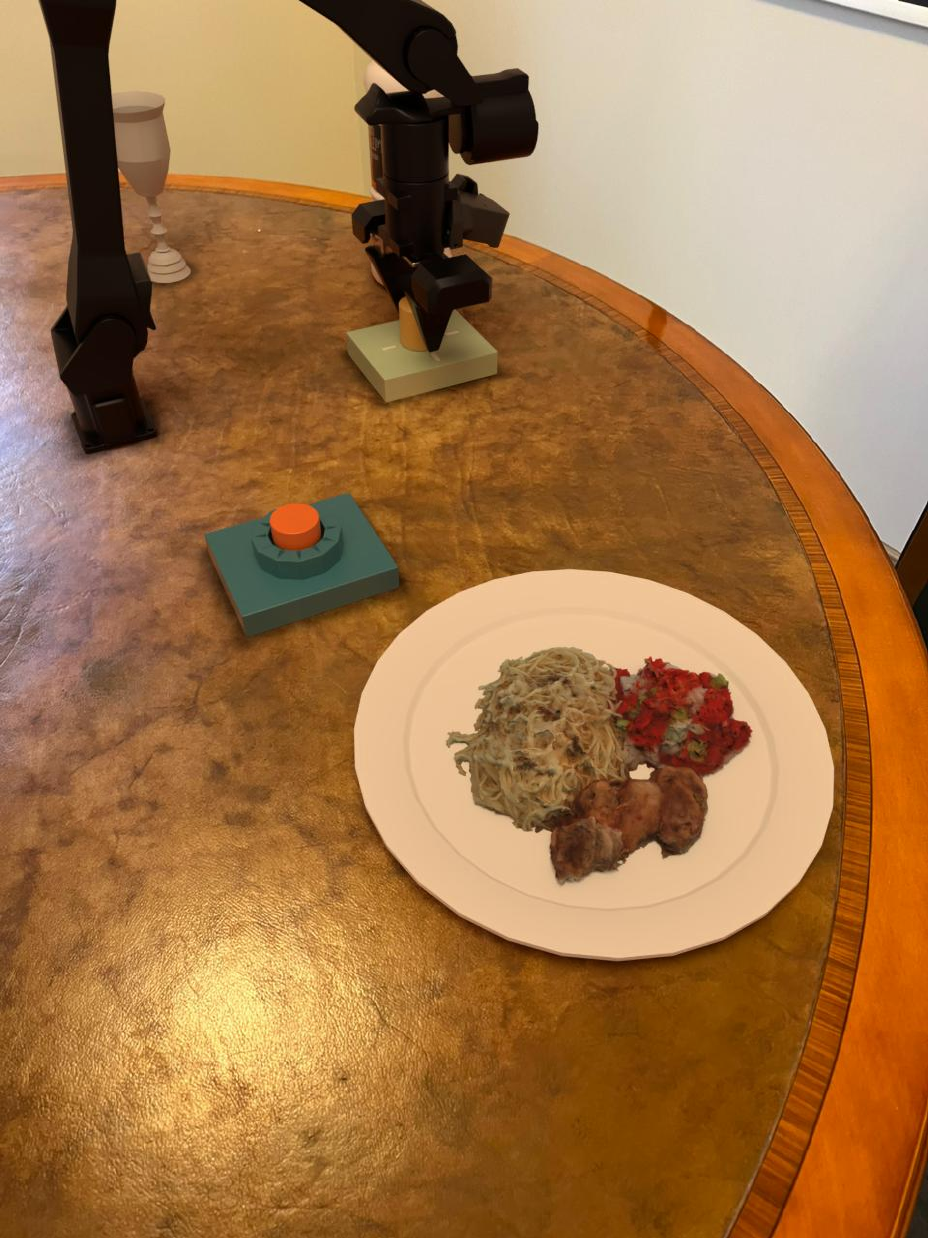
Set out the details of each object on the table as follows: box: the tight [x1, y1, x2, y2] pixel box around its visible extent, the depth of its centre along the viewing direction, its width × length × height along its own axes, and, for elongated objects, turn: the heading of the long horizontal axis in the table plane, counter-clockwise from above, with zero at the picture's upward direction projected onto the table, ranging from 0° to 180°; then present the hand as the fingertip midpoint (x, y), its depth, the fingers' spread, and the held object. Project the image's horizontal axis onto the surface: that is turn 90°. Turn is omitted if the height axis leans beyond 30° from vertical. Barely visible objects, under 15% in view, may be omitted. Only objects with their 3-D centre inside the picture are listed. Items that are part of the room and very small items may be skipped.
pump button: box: [270, 502, 321, 551], centre depth 69 cm, size 4×4×2 cm
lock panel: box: [345, 309, 499, 404], centre depth 93 cm, size 10×12×3 cm
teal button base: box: [204, 492, 400, 638], centre depth 70 cm, size 10×12×4 cm
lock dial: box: [398, 296, 428, 351], centre depth 90 cm, size 4×4×4 cm
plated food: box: [353, 568, 835, 962], centre depth 59 cm, size 30×30×3 cm
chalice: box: [112, 90, 192, 284], centre depth 101 cm, size 7×7×18 cm
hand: (420, 336), depth 91 cm, fingers open, 6 cm apart
